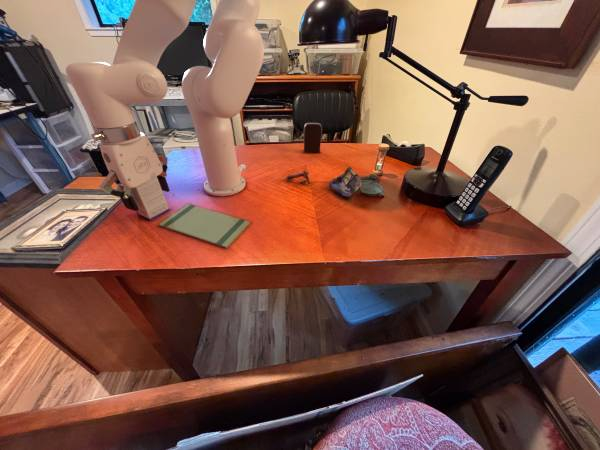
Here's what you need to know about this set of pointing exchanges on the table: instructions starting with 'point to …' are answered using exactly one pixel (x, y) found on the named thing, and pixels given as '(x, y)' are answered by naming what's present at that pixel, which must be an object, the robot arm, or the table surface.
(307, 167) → the table surface
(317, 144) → the battery charger
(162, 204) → the supplement box
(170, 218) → the towel
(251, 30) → the robot arm
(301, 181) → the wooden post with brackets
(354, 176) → the snack package
